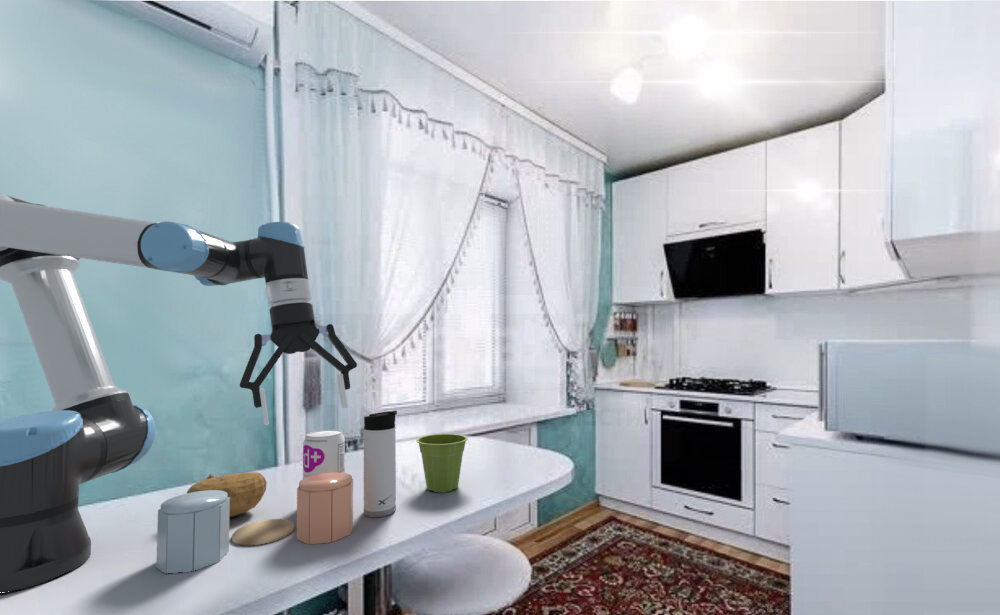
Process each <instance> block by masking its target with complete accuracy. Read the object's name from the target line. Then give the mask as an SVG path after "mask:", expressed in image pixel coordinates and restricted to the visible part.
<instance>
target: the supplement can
mask: <svg viewBox="0 0 1000 615" xmlns="http://www.w3.org/2000/svg"><path fill="white" fill-rule="evenodd" d="M304 438H305V439H304V441H303V444H302V446H303V448H302V479H304V478H306V477H309V476H313V475H317V474H322V473H333V472H340V473H346V472H345V471H346V470H345V468H346V467H345V462H346V461H345V460H346V459H345V457H346V455H345V452H346V443H345V440H346V438H345V436H344V434H343V431H342V430H340V429H324V430H316V431H315V430H314V431H311V432H308V433H306V437H304Z"/></svg>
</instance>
